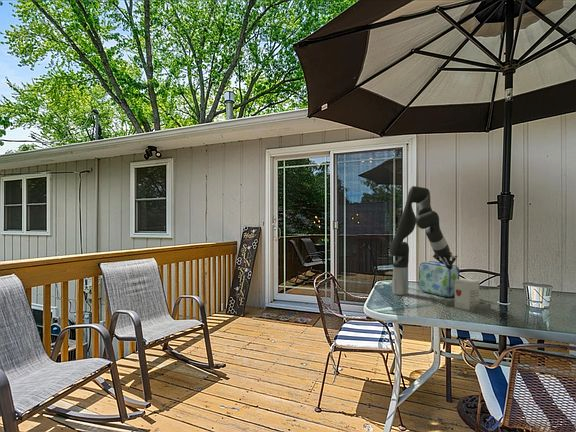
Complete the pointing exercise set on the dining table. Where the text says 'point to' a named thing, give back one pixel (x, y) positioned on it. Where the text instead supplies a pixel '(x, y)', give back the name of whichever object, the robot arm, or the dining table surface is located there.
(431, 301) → the dining table surface
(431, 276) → the lunch box
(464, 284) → the supplement box
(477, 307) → the tray
